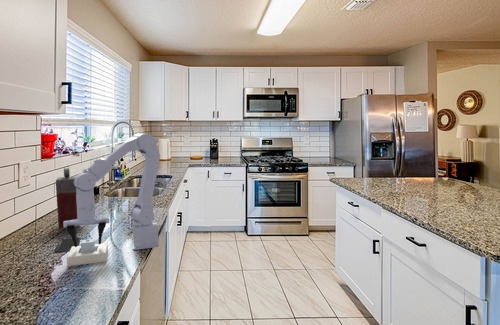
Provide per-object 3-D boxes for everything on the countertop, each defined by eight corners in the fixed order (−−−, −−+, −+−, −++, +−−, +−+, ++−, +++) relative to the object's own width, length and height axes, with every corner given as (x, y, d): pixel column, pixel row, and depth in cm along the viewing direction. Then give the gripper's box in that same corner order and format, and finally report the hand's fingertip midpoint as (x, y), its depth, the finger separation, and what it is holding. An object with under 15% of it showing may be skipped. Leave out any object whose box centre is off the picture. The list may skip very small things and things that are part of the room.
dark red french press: (85, 226, 164) (82, 168, 161) (58, 229, 159) (54, 169, 157) (85, 221, 172) (82, 166, 170) (60, 224, 167) (56, 167, 165)
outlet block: (107, 250, 129) (107, 242, 129) (105, 261, 118) (105, 252, 118) (72, 254, 125) (72, 246, 125) (67, 266, 114) (66, 257, 114)
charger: (95, 254, 124) (94, 238, 124) (94, 258, 120) (93, 241, 120) (83, 256, 123) (82, 239, 122) (81, 260, 119) (80, 242, 118)
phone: (54, 250, 127) (60, 239, 141) (54, 253, 127) (60, 242, 141) (77, 248, 130) (81, 237, 144) (77, 251, 130) (81, 239, 144)
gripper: (60, 211, 114) (63, 251, 115) (107, 207, 119) (109, 245, 120) (64, 207, 121) (66, 244, 122) (108, 203, 126) (110, 239, 127)
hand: (88, 244), depth 121 cm, fingers open, 7 cm apart
